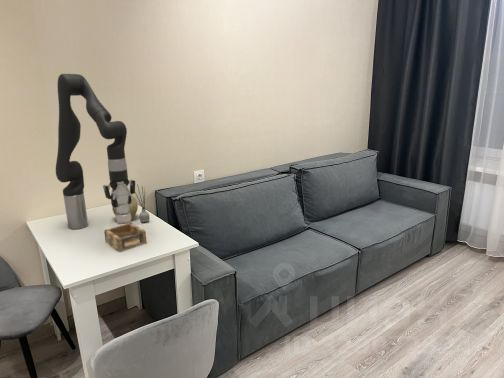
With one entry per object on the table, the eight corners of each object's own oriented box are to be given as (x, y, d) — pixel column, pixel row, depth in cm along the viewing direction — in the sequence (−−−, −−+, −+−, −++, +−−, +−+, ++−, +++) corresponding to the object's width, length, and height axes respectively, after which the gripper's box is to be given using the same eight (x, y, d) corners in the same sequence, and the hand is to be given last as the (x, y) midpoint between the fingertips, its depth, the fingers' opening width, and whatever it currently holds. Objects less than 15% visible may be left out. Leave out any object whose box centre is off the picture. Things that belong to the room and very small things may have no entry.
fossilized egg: (108, 222, 195) (105, 195, 191) (122, 214, 207) (119, 188, 203) (131, 224, 192) (128, 196, 188) (143, 215, 204) (140, 189, 200)
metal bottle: (118, 220, 171) (113, 178, 165) (133, 220, 172) (128, 178, 166) (114, 226, 165) (109, 182, 159) (130, 225, 166) (125, 182, 160)
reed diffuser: (153, 223, 194) (150, 186, 188) (140, 226, 190) (137, 188, 184) (144, 217, 201) (140, 181, 196) (132, 221, 197) (128, 184, 191)
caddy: (105, 242, 172) (104, 230, 170) (132, 234, 180) (130, 222, 178) (119, 252, 162) (118, 239, 160) (146, 243, 171) (145, 230, 169)
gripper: (129, 164, 168) (132, 199, 173) (97, 169, 159) (102, 207, 164) (137, 167, 163) (140, 203, 168) (105, 172, 154) (109, 211, 159)
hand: (121, 205), depth 166 cm, fingers closed on metal bottle, 6 cm apart
